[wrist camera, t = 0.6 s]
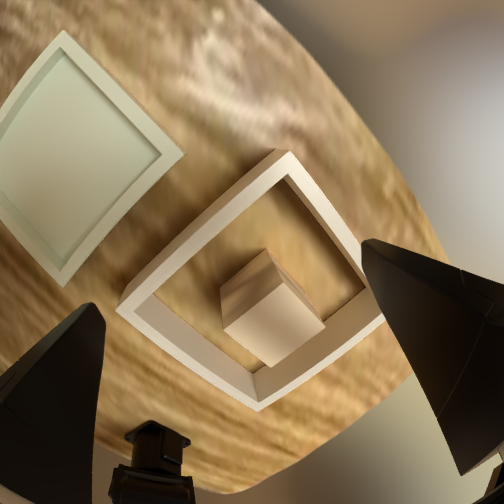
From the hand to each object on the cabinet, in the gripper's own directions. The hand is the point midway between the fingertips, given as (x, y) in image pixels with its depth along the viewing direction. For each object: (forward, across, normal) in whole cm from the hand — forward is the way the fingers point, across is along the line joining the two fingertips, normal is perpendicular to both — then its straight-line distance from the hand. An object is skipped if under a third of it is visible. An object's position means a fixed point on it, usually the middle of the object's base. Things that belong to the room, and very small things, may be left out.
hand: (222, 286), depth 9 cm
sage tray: (+14, +12, -5) cm, 19 cm away
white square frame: (+13, -1, +10) cm, 16 cm away
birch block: (+13, -1, +10) cm, 16 cm away
